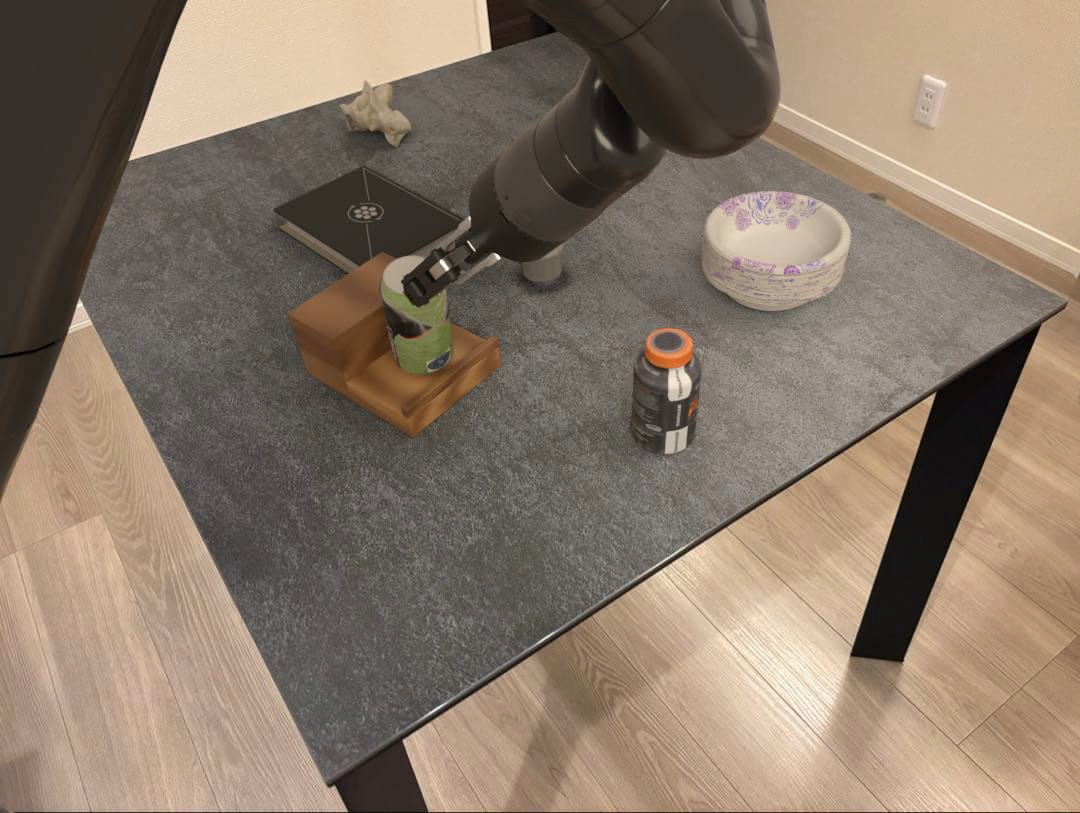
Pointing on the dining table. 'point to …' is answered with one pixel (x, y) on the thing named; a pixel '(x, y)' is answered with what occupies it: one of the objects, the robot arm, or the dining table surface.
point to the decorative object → (376, 114)
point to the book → (366, 220)
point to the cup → (544, 266)
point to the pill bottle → (666, 392)
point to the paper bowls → (775, 249)
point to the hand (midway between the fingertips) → (447, 271)
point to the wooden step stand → (382, 353)
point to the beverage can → (415, 322)
